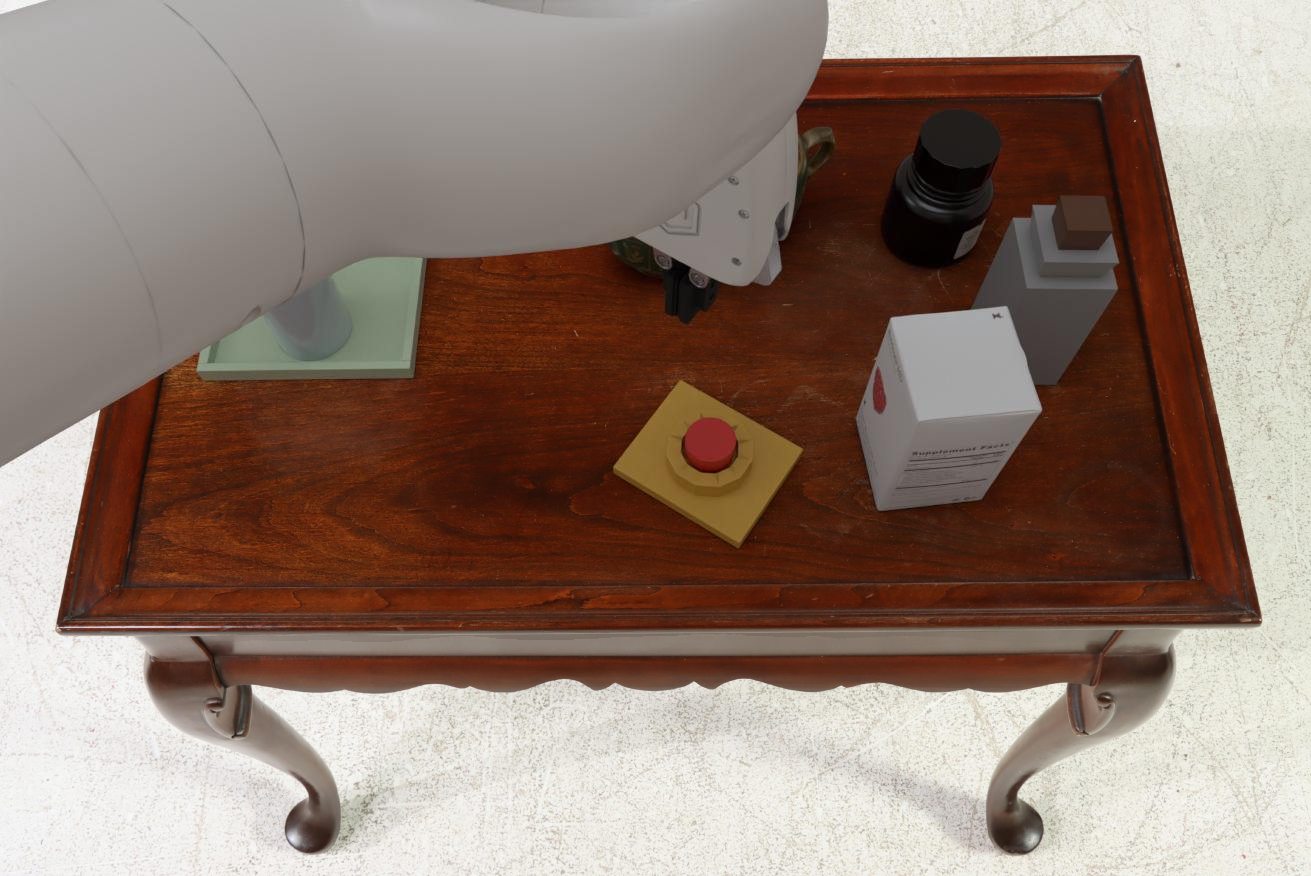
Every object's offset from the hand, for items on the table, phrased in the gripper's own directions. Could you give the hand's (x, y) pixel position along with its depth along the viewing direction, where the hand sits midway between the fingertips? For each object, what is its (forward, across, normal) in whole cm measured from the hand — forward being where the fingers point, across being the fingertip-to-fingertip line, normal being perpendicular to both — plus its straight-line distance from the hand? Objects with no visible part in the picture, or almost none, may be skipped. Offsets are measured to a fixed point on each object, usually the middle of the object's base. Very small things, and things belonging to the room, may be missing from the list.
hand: (689, 303), depth 63 cm
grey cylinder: (+23, -34, -6) cm, 42 cm away
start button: (+21, +1, +2) cm, 21 cm away
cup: (+23, -11, +22) cm, 34 cm away
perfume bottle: (+23, +17, +26) cm, 39 cm away
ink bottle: (+23, +5, +34) cm, 42 cm away
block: (+23, +2, +2) cm, 23 cm away
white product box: (+23, +15, +12) cm, 31 cm away
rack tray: (+23, -39, +2) cm, 46 cm away
